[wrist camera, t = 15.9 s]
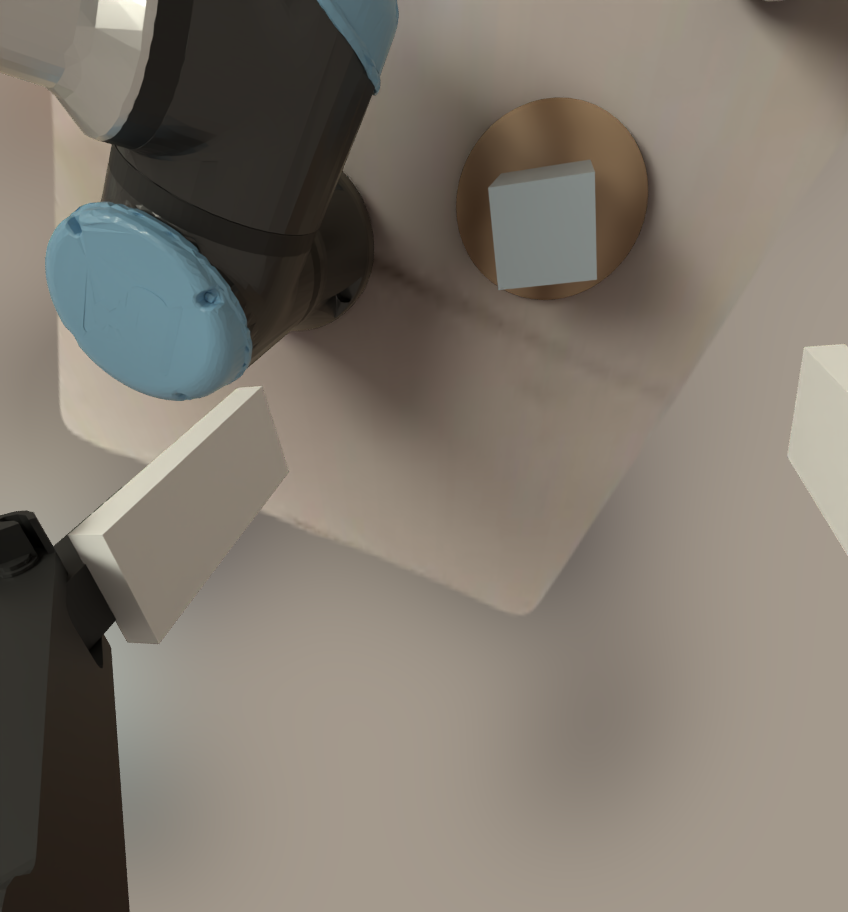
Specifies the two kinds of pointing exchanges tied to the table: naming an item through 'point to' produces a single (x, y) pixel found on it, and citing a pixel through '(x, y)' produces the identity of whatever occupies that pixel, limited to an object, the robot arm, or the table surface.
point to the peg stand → (545, 144)
